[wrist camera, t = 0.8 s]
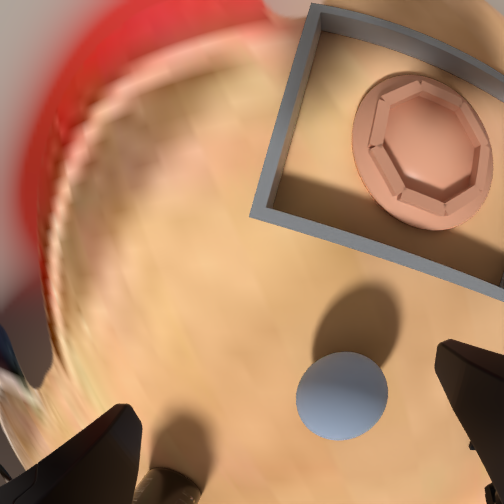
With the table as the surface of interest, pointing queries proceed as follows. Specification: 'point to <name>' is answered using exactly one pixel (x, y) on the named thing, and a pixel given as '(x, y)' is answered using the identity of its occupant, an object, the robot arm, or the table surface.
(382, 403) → the ball
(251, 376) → the table surface
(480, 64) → the grey rectangular frame
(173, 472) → the supplement bottle
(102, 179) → the table surface
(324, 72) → the table surface
